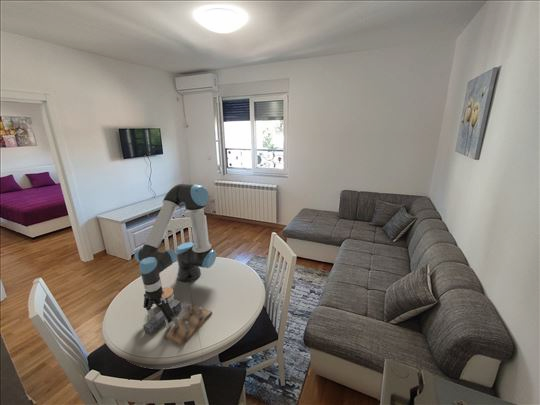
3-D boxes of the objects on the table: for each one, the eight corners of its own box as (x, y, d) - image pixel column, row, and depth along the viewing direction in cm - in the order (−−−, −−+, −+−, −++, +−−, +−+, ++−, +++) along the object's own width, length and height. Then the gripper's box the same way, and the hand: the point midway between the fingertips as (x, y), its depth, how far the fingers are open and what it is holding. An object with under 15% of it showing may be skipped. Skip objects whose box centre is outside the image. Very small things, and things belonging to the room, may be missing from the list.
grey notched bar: (175, 306, 137) (173, 299, 135) (181, 308, 135) (180, 301, 133) (144, 333, 120) (142, 325, 118) (151, 336, 118) (149, 328, 116)
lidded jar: (153, 313, 132) (150, 298, 130) (156, 300, 142) (154, 286, 139) (174, 308, 135) (171, 294, 132) (176, 296, 145) (173, 283, 142)
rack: (196, 307, 135) (194, 296, 133) (212, 313, 131) (210, 302, 128) (165, 338, 116) (162, 325, 114) (182, 346, 112) (179, 333, 110)
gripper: (130, 286, 120) (138, 320, 127) (164, 299, 110) (172, 336, 117) (143, 277, 127) (150, 311, 133) (177, 289, 117) (183, 324, 124)
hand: (160, 322), depth 125 cm, fingers open, 12 cm apart
